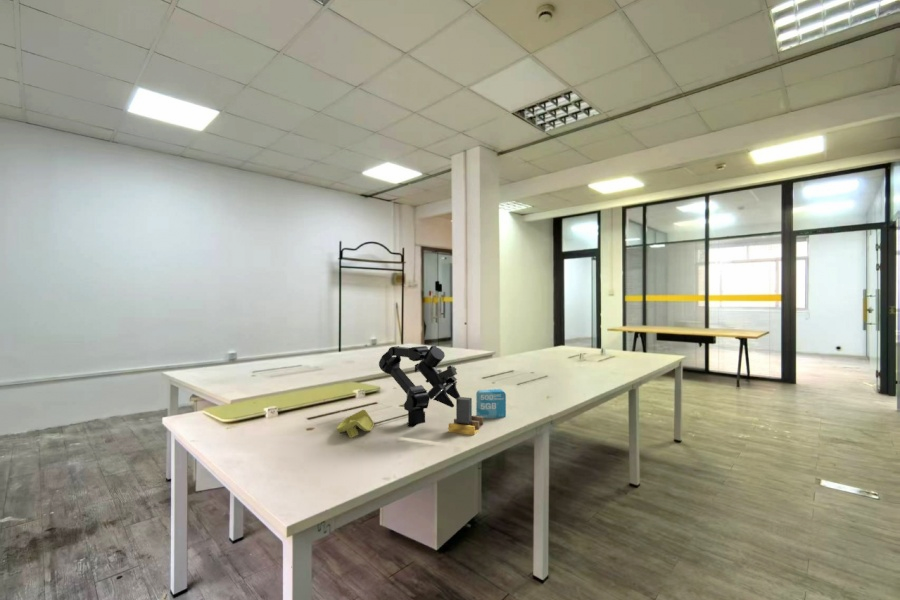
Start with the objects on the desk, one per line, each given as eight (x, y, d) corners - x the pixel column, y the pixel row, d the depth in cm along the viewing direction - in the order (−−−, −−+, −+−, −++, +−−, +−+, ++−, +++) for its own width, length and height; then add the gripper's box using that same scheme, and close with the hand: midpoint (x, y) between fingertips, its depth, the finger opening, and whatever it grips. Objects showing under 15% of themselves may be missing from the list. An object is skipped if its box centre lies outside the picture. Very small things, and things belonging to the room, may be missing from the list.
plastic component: (344, 418, 155) (367, 407, 156) (352, 435, 155) (374, 423, 156) (333, 431, 135) (358, 418, 136) (341, 450, 135) (367, 437, 136)
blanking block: (456, 430, 144) (456, 399, 144) (459, 427, 147) (459, 396, 147) (468, 432, 142) (468, 400, 142) (471, 429, 145) (471, 397, 145)
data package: (478, 420, 160) (478, 392, 160) (476, 417, 164) (476, 389, 164) (506, 419, 161) (505, 391, 161) (503, 416, 166) (503, 389, 166)
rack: (448, 434, 143) (448, 423, 143) (459, 424, 155) (459, 414, 155) (474, 437, 139) (473, 426, 139) (483, 426, 151) (483, 416, 152)
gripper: (435, 363, 139) (464, 395, 135) (452, 356, 156) (477, 385, 153) (415, 383, 141) (443, 415, 138) (434, 374, 159) (459, 402, 155)
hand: (457, 403), depth 146 cm, fingers open, 9 cm apart
